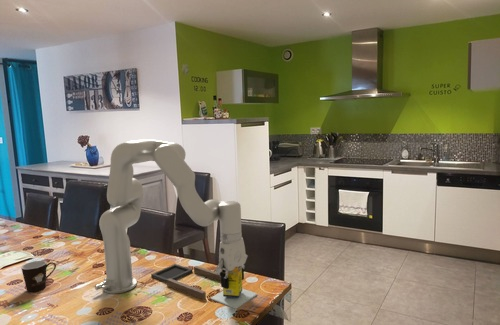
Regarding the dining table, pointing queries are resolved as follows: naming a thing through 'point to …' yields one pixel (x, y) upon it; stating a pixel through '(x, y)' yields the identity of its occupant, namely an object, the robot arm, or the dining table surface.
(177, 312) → the dining table surface
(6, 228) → the dining table surface
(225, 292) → the supplement box
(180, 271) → the tray
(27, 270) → the coffee mug
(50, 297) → the dining table surface
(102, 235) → the robot arm
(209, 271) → the wooden bars
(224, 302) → the pad
